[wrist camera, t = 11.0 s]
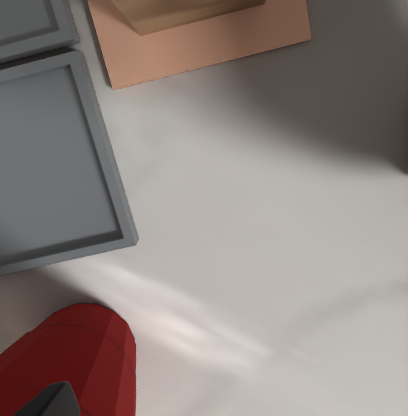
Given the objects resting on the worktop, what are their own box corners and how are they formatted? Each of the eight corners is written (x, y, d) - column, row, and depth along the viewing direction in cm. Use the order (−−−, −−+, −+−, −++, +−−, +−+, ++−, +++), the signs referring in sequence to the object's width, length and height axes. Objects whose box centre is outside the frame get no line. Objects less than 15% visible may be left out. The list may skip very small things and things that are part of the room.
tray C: (83, 53, 18) (76, 50, 17) (138, 239, 21) (135, 245, 20) (-102, 101, 19) (-119, 101, 18) (-27, 276, 21) (-38, 284, 20)
